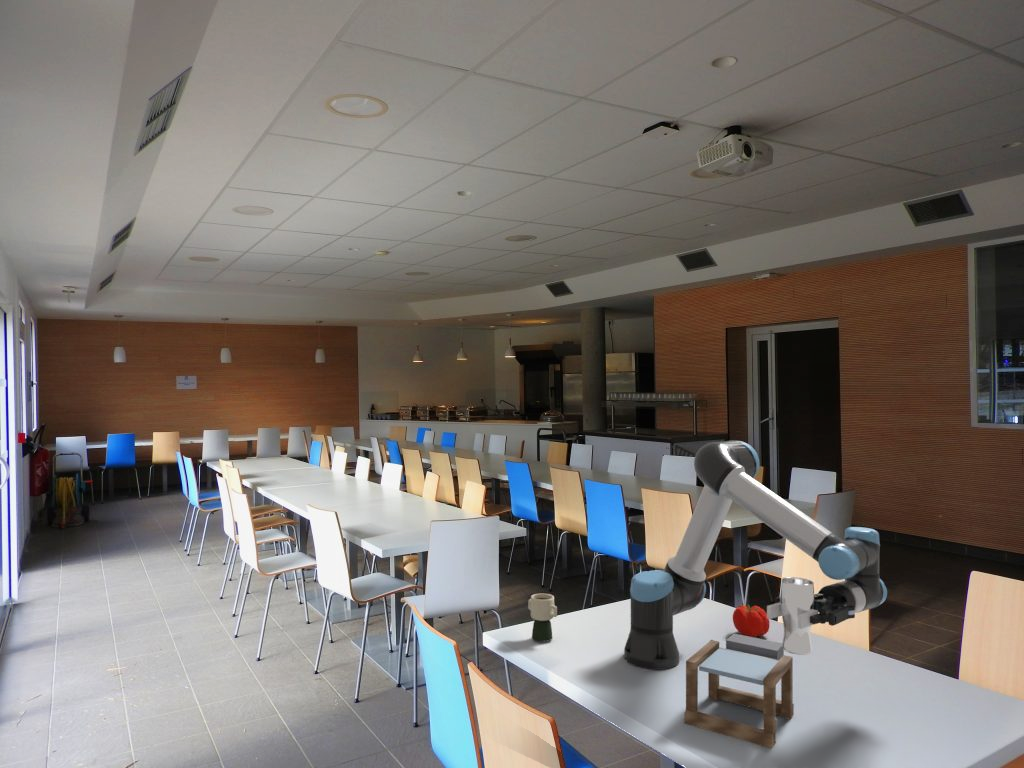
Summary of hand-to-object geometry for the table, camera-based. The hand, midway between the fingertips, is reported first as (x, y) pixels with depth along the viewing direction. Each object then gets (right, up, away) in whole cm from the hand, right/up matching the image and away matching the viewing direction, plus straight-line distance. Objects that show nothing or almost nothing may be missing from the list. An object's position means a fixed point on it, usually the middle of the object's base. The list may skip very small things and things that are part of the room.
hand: (783, 617), depth 148 cm
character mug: (-49, -27, +59) cm, 82 cm away
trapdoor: (-4, -16, +12) cm, 21 cm away
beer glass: (+4, -8, +3) cm, 10 cm away
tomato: (+16, -28, +65) cm, 73 cm away
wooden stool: (-7, -26, +9) cm, 28 cm away
